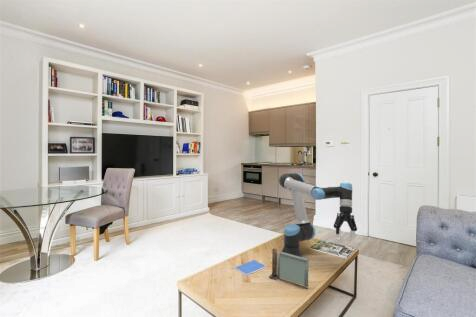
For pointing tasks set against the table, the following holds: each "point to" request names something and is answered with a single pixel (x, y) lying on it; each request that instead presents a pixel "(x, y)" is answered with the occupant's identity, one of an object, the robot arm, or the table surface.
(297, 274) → the panel
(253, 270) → the tablet computer
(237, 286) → the table surface
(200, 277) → the table surface
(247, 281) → the table surface
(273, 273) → the hinge post
